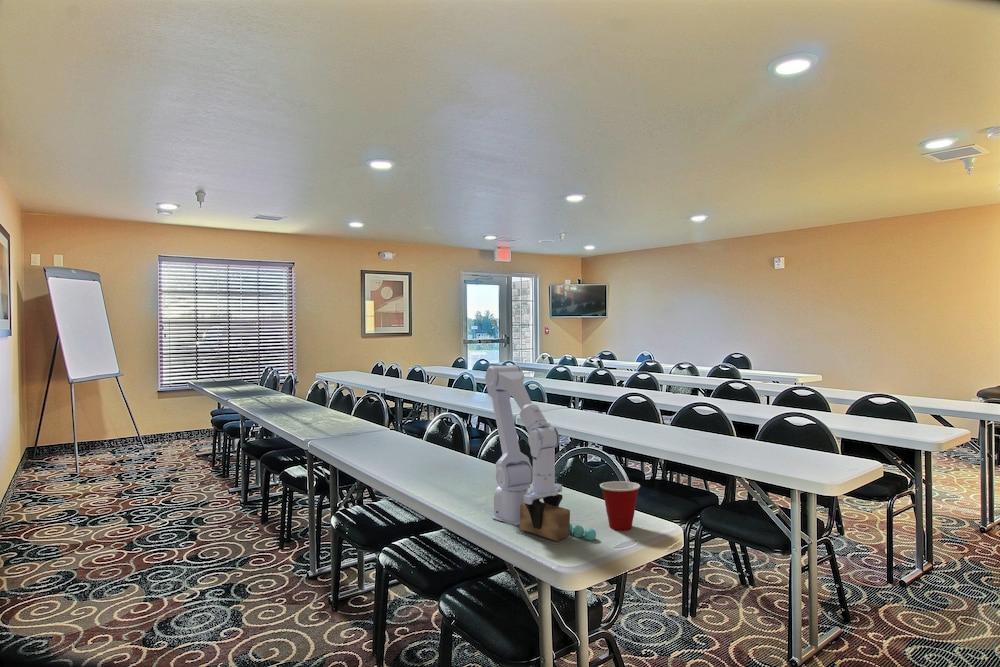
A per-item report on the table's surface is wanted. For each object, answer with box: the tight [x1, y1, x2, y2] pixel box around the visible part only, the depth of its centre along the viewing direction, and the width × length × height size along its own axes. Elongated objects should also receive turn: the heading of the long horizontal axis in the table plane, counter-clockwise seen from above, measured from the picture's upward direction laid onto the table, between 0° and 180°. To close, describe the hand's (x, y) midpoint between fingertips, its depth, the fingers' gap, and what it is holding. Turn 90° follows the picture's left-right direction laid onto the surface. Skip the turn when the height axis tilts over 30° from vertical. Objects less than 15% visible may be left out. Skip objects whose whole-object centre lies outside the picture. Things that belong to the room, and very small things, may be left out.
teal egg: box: [583, 527, 597, 541], centre depth 142 cm, size 3×3×3 cm
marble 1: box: [570, 523, 574, 534], centre depth 146 cm, size 3×3×3 cm
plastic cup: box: [599, 480, 641, 532], centre depth 151 cm, size 11×11×12 cm
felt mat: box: [515, 529, 573, 546], centre depth 145 cm, size 13×7×1 cm, turn 50°
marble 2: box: [572, 525, 585, 538], centre depth 144 cm, size 3×3×3 cm
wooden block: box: [519, 501, 571, 541], centre depth 145 cm, size 12×6×6 cm, turn 50°
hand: (543, 525), depth 145 cm, fingers closed on wooden block, 5 cm apart
